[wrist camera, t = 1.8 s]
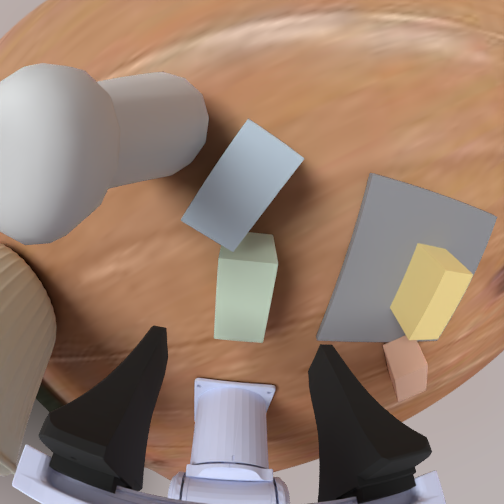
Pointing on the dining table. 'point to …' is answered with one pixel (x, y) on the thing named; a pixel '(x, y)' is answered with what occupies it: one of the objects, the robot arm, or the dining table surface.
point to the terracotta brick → (406, 367)
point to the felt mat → (396, 255)
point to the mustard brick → (429, 292)
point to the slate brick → (241, 185)
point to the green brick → (245, 288)
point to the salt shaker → (87, 142)
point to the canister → (21, 350)
